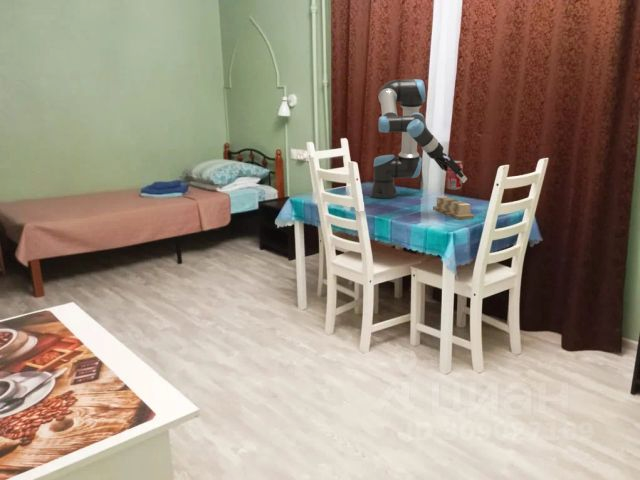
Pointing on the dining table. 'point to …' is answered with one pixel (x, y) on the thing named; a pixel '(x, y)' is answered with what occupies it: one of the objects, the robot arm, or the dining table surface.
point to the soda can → (454, 177)
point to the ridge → (453, 208)
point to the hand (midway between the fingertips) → (460, 179)
